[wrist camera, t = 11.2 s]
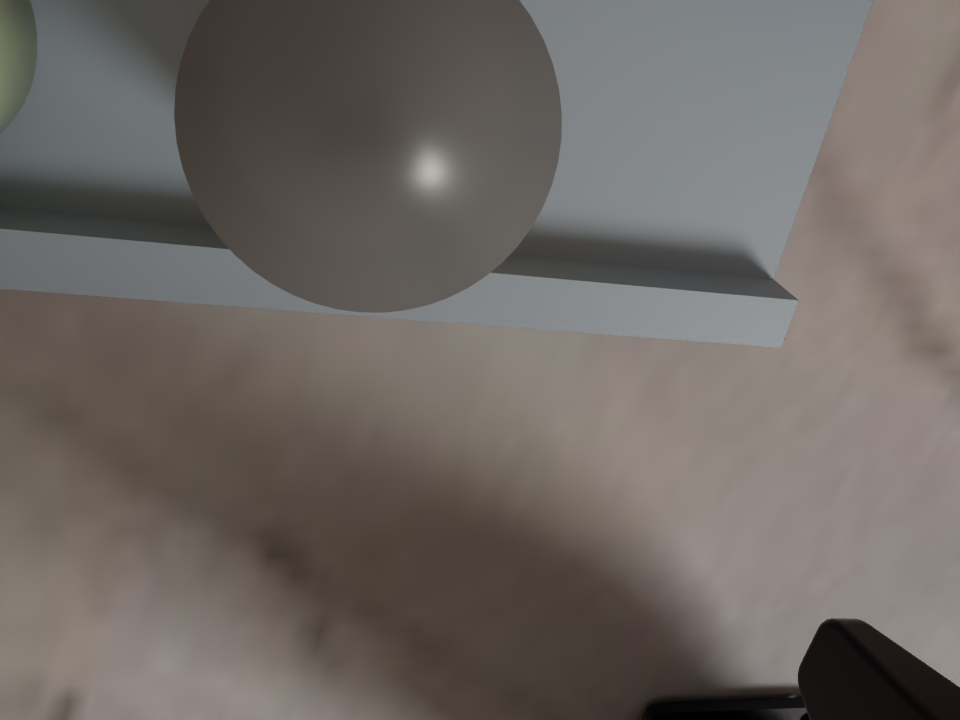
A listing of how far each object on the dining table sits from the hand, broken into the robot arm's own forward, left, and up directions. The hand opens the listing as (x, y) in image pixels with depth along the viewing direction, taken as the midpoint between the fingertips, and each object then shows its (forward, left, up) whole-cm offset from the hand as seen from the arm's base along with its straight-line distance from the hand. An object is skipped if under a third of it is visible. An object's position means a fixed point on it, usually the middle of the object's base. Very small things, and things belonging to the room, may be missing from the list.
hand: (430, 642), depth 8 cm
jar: (+1, -4, -10) cm, 11 cm away
